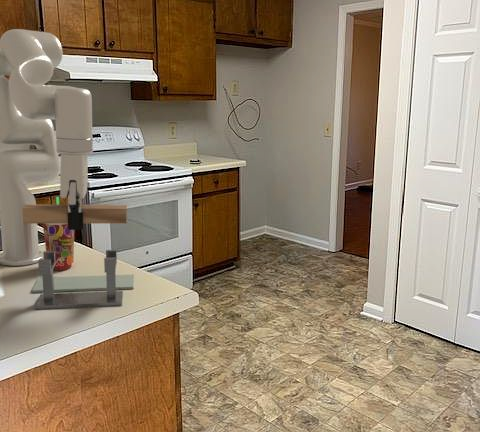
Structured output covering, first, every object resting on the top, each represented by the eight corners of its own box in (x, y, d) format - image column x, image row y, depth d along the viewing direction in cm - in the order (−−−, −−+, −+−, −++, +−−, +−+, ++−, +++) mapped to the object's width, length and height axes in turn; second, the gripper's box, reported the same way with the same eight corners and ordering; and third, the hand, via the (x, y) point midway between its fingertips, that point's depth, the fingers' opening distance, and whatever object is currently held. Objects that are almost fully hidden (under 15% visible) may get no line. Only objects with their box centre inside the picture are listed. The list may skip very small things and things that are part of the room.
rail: (26, 219, 111) (25, 204, 110) (126, 219, 116) (126, 205, 115) (23, 223, 108) (22, 207, 107) (126, 223, 112) (126, 208, 111)
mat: (39, 279, 128) (39, 277, 128) (133, 276, 133) (133, 274, 133) (32, 292, 119) (31, 290, 119) (133, 289, 124) (133, 286, 124)
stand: (40, 297, 117) (38, 251, 115) (122, 293, 121) (122, 249, 118) (34, 309, 110) (31, 260, 108) (121, 305, 114) (121, 258, 112)
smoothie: (66, 273, 133) (63, 201, 129) (38, 270, 135) (34, 198, 130) (82, 264, 141) (79, 195, 137) (55, 261, 143) (52, 193, 138)
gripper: (62, 141, 115) (64, 217, 119) (50, 150, 99) (53, 237, 103) (95, 142, 116) (96, 217, 121) (89, 151, 100) (90, 237, 105)
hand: (76, 226), depth 112 cm, fingers closed on rail, 3 cm apart
